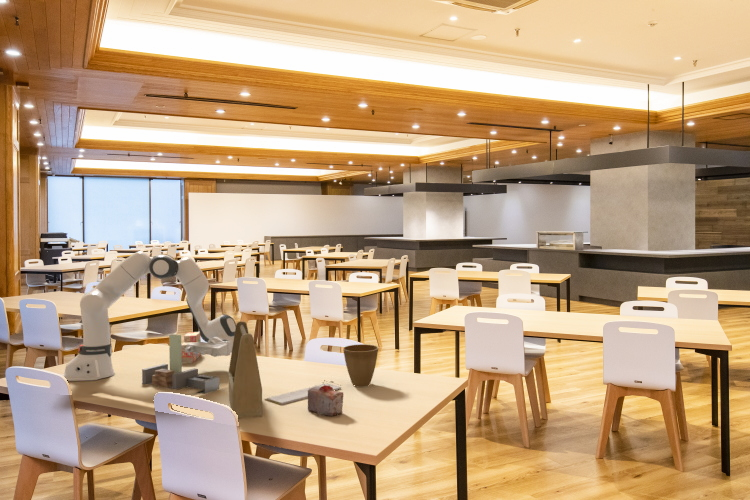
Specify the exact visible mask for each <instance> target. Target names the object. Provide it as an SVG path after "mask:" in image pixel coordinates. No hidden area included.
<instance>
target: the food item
mask: <svg viewBox="0 0 750 500" xmlns="http://www.w3.org/2000/svg"><path fill="white" fill-rule="evenodd" d="M312 387H313V386H312ZM343 403H344V392H342V391H339V390H336V391H334V390H333V387H330V386H328V385H327V386H325V385H324V386H323V387H313V388H311V389H309V390H308V398H307V410H308V411H310V412H314V413H317V415H322V416H323V415H325V416H329V415H330V417H334V416H333V415H335V416H337V414H338V415H341V414H343V405H344V404H343Z"/></svg>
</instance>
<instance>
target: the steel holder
mask: <svg viewBox="0 0 750 500" xmlns="http://www.w3.org/2000/svg"><path fill="white" fill-rule="evenodd" d="M186 388H190V389H196V390H199V391H196V393H199V394H202V395H203V394H204V395H206V394H209V393H212V392H215V391H218V390H220V377H219V376H213V375H209V374H208V375H207V374H198V376H195V377H191V378H188V379H187V387H186Z"/></svg>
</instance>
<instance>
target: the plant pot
mask: <svg viewBox="0 0 750 500" xmlns="http://www.w3.org/2000/svg"><path fill="white" fill-rule="evenodd" d="M342 349H343V350H342V351H343V356H344V362H345V365H346V369H347V373H348V375H349V378H350V382H351V383H352V386H353V385H355V386H354V387H357V386H365V387H367V386H366V385H369V384H370V385H371V382H372V379H373V376H374V373H375V369H376V364H377V360H378V353H379V347H378V346H377V345H374V344H351V345H347V346H343V347H342ZM370 385H369V386H370Z"/></svg>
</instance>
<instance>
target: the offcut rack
mask: <svg viewBox="0 0 750 500" xmlns="http://www.w3.org/2000/svg"><path fill="white" fill-rule="evenodd" d="M160 369H166V370H169V363H161V364H158V365H154V366H150V367H146V368H142V370H141V374H142V376H141V378H142V379H141V382H142V385H143V384H144V385H148V386H153V387H154V386H155V385H152V375H155V371H156V370H160ZM198 375H199V368H191V369H186V370H183V371H182V372H179V373H176V374H172V381H173V386H171V387H168V388H166V387H163V388H166V389H169V390H170V389H171V390H180V389H183V388H188V387H187V379H188V378H191V377H195V376H198ZM155 387H156V386H155ZM158 387H159V388H162V387H161V386H158Z"/></svg>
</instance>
